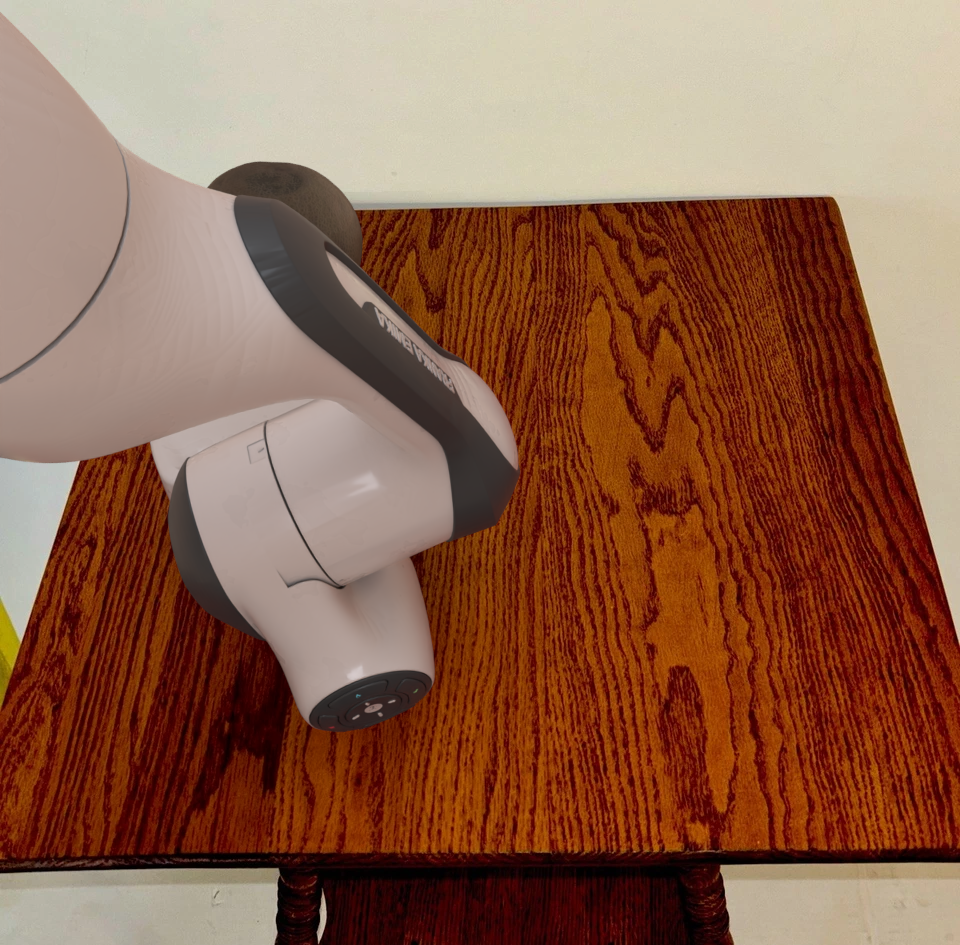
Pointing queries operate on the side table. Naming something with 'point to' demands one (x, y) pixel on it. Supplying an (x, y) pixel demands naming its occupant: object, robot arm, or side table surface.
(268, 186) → the coconut
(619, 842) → the side table surface
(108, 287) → the robot arm
